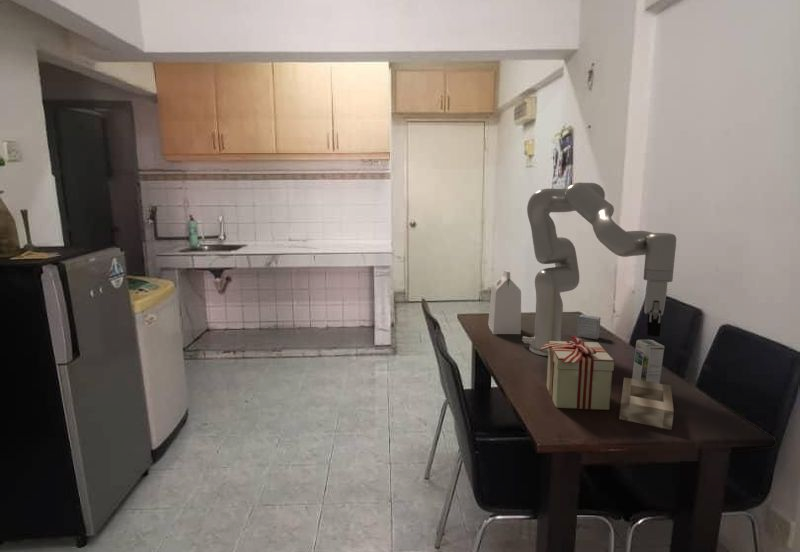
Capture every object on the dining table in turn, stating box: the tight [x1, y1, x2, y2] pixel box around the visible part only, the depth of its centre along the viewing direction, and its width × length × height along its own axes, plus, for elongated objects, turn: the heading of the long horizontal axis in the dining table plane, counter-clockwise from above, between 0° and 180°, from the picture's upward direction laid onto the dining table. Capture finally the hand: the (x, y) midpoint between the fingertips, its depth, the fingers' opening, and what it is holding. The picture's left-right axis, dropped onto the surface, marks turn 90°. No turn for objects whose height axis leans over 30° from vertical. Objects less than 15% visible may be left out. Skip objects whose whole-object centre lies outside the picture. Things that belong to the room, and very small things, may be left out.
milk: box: [487, 269, 522, 335], centre depth 197 cm, size 12×12×26 cm
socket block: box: [619, 377, 675, 431], centre depth 127 cm, size 12×18×5 cm, turn 152°
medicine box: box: [576, 314, 601, 340], centre depth 191 cm, size 8×4×9 cm, turn 57°
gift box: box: [539, 335, 615, 411], centre depth 133 cm, size 17×18×17 cm
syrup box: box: [631, 339, 665, 384], centre depth 141 cm, size 6×6×14 cm
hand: (653, 331), depth 139 cm, fingers open, 9 cm apart
